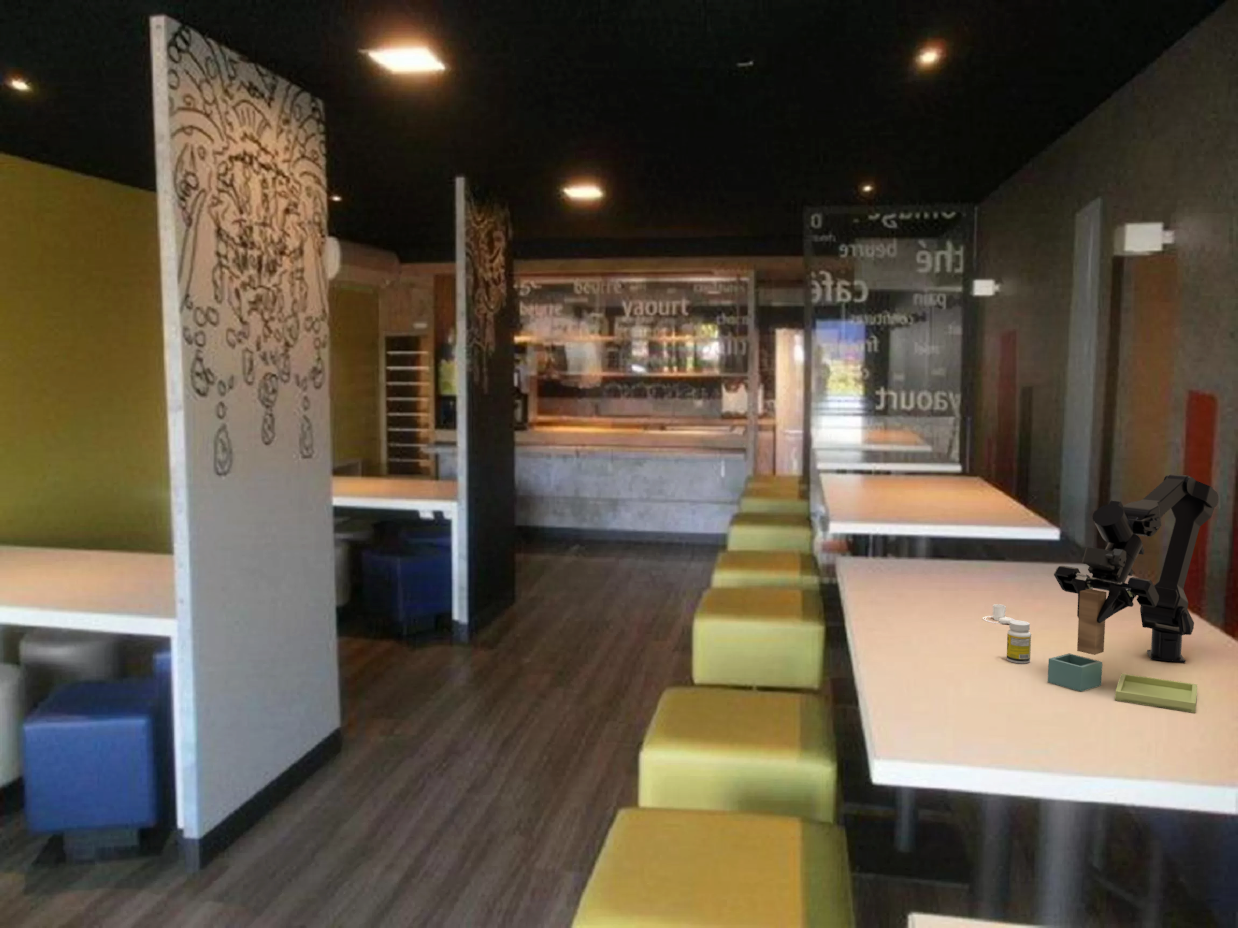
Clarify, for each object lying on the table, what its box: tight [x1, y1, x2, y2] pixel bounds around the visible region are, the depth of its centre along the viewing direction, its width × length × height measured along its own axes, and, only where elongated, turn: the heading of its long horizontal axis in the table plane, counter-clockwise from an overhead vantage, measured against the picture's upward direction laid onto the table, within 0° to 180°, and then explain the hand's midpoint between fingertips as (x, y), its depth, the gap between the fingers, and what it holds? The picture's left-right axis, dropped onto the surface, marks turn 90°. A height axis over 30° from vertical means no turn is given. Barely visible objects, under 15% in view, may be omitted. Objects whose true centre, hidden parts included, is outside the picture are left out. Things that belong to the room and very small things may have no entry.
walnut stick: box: [1076, 588, 1107, 656], centre depth 191 cm, size 4×4×12 cm
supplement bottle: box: [1006, 619, 1032, 665], centre depth 208 cm, size 5×5×8 cm
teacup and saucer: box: [982, 603, 1016, 625], centre depth 243 cm, size 9×8×4 cm
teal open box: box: [1047, 653, 1103, 692], centre depth 192 cm, size 7×7×5 cm
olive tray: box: [1114, 673, 1198, 714], centre depth 185 cm, size 13×13×2 cm
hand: (1088, 619), depth 190 cm, fingers closed on walnut stick, 3 cm apart
